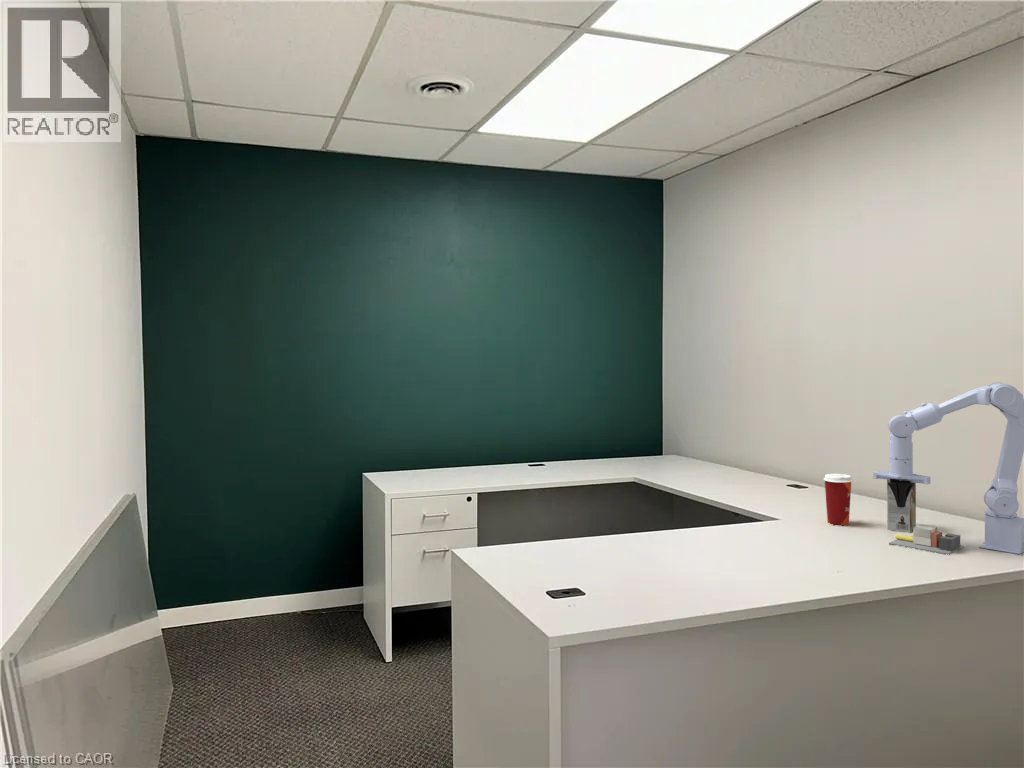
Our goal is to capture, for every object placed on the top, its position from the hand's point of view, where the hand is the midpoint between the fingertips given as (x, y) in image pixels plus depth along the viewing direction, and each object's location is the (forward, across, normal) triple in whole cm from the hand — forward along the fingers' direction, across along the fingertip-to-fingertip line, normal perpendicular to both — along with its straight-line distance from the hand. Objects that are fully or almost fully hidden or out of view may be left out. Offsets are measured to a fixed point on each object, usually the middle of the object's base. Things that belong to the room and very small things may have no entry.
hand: (901, 506), depth 207 cm
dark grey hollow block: (+10, +12, 0) cm, 16 cm away
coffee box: (+10, -6, +15) cm, 19 cm away
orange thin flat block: (+10, +9, 0) cm, 13 cm away
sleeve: (+10, +6, 0) cm, 12 cm away
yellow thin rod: (+10, +5, 0) cm, 11 cm away
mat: (+10, +6, 0) cm, 12 cm away
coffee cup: (+10, -22, +8) cm, 26 cm away
